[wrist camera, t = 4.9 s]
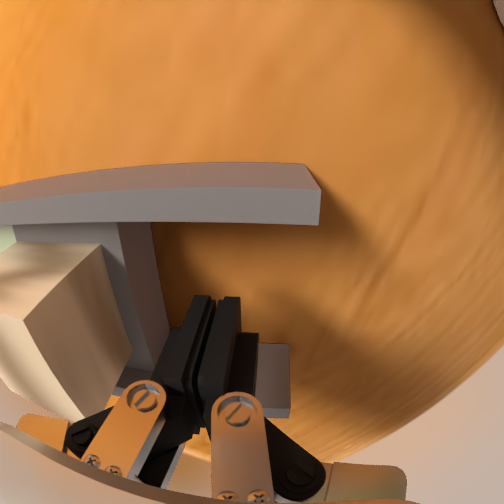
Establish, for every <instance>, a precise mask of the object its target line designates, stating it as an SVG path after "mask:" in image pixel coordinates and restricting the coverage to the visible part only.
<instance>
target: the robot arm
mask: <svg viewBox="0 0 504 504" xmlns="http://www.w3.org/2000/svg"><path fill="white" fill-rule="evenodd" d="M258 342H259V334H258V333H246V332H241V306H240V297H227V296H225V298H224V300H219V302H218V305H217V309H216V301H215V300H211V297H210V296H208V295H195V296H194V298H193V300H192V303H191V305H190V307H189V310H188V312H187V315H186V317H185V320H184V322H183V325H182V327H181V328H179V327H173V328H172V329H171V331H170V333H169V335H168V338H167V340H166V342H165V345H164V347H163V350H162V352H161V354H160V357H159V359H158V361H157V364H156V366H155V369H154V371H153V373H152V376H151V378H150V381H149V380H141V381H137V382H134V383H133V384H131V385H129V386H128V387H127V388H126V389H125V391H124V392H123V394H122V395H121V397H120V398H119V400H118V401H117V403H116V404H115V406H113V407H110V408H108V409H106V410H103V411H101V412H99V413H96V414H94V415H91V416H89V417H87V418H84V419H82V420H79V421H77V422H75V423H73V424H72V423H70V422H69V421H66V420H60V419H54V418H49V417H44V416H39V415H35V414H27V415H24V416H23V417H21V419H20V420H19V422H18V424H17V427H16V428H15V427H13V426H11V425H8V424H6V423H2V422H0V504H419V503H415V502H411V501H405V497H406V487H407V479H406V475H405V473H404V472H403V471H402V470H401V469H400V468H398V467H395V466H386V465H363V464H362V465H361V464H349V463H339V462H334V463H333V464H331V463H323V462H320V461H319V460H317V459H316V458H315V457H313V456H312V455H311V454H310V453H308V452H307V451H306V450H304V449H303V448H302V447H300V446H299V445H298V444H297V443H295V442H294V441H293V440H292V439H290V438H289V437H288V436H287V435H285V434H284V433H283V432H282V431H281V430H279V429H278V428H277V427H276V426H275V425H274V424H272V423H271V422H270V421H269V420H268V419H267V418H265V417H264V416H263V409H262V406H261V403H260V402H259V401H258V400H257V398H255V391H256V379H257V366H258ZM200 427H202V428H205V427H206V429H207V432H208V435H209V439H210V441H211V481H212V482H211V483H212V498H207V497H201V496H195V495H190V494H184V493H179V492H174V491H170V490H166V488H167V486H168V484H169V481H170V479H171V477H172V475H173V472H174V470H175V468H176V465H177V463H178V461H179V459H180V456H181V454H182V452H183V450H184V447H185V443H186V441H188V440H190V439H192V435H193V434H199V432H200Z"/></svg>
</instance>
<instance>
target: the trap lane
mask: <svg viewBox="0 0 504 504" xmlns="http://www.w3.org/2000/svg"><path fill="white" fill-rule="evenodd" d="M320 201H321V189H320V187H319V186H318V184H317V183H316V181H315V180H314V178H313V177H312V175H311V174H310V172H309V171H308V169H307V168H306V166H305V165H304V164H293V163H263V162H211V163H181V164H163V165H148V166H136V167H125V168H115V169H106V170H97V171H89V172H82V173H75V174H68V175H62V176H55V177H50V178H44V179H38V180H33V181H28V182H23V183H18V184H14V185H9V186H5V187H0V225H12V227H13V231H14V234H15V238H16V241H17V242H50V243H87V244H101V247H102V252H103V256H104V260H105V264H106V268H107V272H108V276H109V279H110V283H111V287H112V290H113V293H114V297H115V300H116V303H117V307H118V310H119V313H120V316H121V319H122V322H123V325H124V328H125V331H126V334H127V337H128V339H129V342H130V345H131V347H132V350H133V352H132V354H131V356H130V358H129V360H128V362H127V363H126V365H125V367H124V369H123V371H122V373H121V375H120V378H119V380H118V382H117V384H116V386H115V388H114V390H113V392H112V394H113V395H116V396H120V397H121V395H122V394H123V392H124V391H125V389H126V388H127V387H128V386H129V385H131V384H133V383H134V382H137V381H141V380H149V381H150V378H151V376H152V373H153V371H154V369H155V366H156V364H157V361H158V359H159V357H160V354H161V352H162V350H163V347H164V345H165V342H166V340H167V338H168V335H169V333H170V327H169V322H168V318H167V313H166V309H165V304H164V299H163V294H162V289H161V284H160V279H159V273H158V268H157V262H156V256H155V250H154V243H153V237H152V230H151V223H150V222H228V223H266V224H295V225H318V224H319V213H320ZM255 398H257V400H258V401H259V402H260V403H261V406H262V409H263V416H264V417H265V418H289V414H290V409H291V401H290V360H289V344H269V343H258V366H257V379H256V391H255Z"/></svg>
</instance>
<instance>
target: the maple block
mask: <svg viewBox="0 0 504 504" xmlns="http://www.w3.org/2000/svg"><path fill="white" fill-rule="evenodd" d="M132 352H133V350H132V347H131V345H130V342H129V339H128V337H127V334H126V331H125V328H124V325H123V322H122V319H121V316H120V313H119V310H118V307H117V303H116V300H115V297H114V293H113V290H112V287H111V283H110V279H109V276H108V272H107V268H106V264H105V260H104V256H103V252H102V247H101V244H87V243H50V242H15V243H14V244H13V245H11V246H10V247H8V248H7V249H6V250H4V251H3V252H2V253H0V377H1V378H2V380H3V381H4V382H5V384H6V385H7V386H8V388H9V389H10V390H11V391H13V392H15V393H16V394H18V395H20V396H22V397H24V398H25V399H27V400H29V401H31V402H33V403H35V404H37V405H39V406H41V407H43V408H45V409H47V410H49V411H51V412H53V413H55V414H57V415H60V416H62V417H64V418H67V419H69V420H71V421H74V422H77V421H79V420H82V419H84V418H87V417H89V416H91V415H94V414H96V413H99V412H101V411H103V410H104V409H105V407H106V405H107V402H108V400H109V398H110V396H111V394H112V392H113V390H114V388H115V386H116V384H117V382H118V380H119V378H120V375H121V373H122V371H123V369H124V367H125V365H126V363H127V362H128V360H129V358H130V356H131V354H132Z"/></svg>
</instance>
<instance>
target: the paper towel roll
mask: <svg viewBox="0 0 504 504" xmlns="http://www.w3.org/2000/svg"><path fill="white" fill-rule="evenodd" d="M493 3H494V6H495V8H496V11H497V14H498V16H499V19H500V21H501V23H502V25H503V27H504V0H493Z"/></svg>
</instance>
